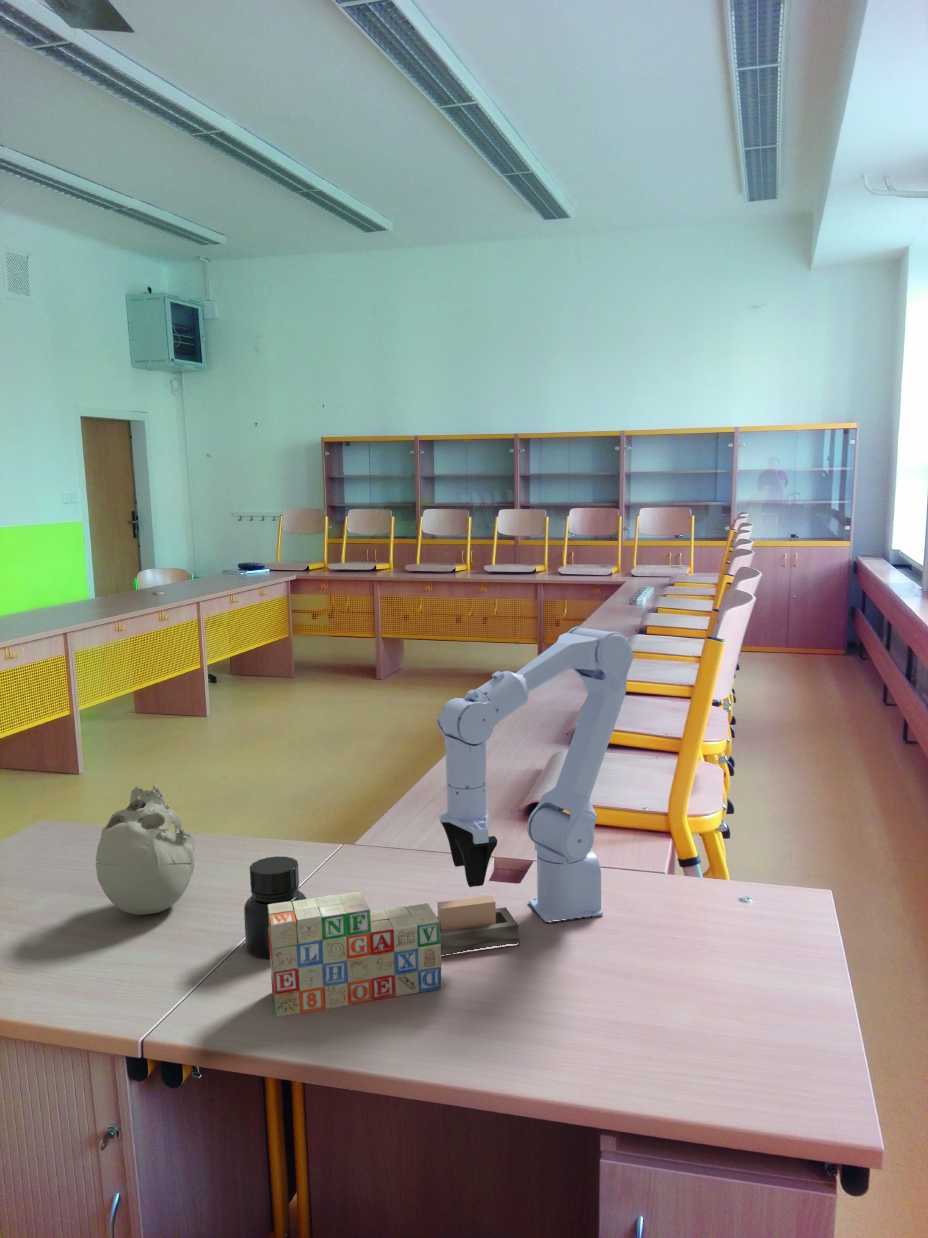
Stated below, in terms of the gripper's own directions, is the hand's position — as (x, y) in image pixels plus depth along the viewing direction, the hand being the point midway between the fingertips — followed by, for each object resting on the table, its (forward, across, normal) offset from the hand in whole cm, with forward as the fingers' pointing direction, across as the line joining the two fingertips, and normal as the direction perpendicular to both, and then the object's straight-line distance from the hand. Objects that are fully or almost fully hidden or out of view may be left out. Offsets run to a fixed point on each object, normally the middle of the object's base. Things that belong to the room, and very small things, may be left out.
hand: (468, 875), depth 130 cm
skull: (+10, -24, -46) cm, 52 cm away
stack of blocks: (+10, +10, -18) cm, 23 cm away
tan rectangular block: (+8, +1, -1) cm, 9 cm away
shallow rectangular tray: (+10, +1, 0) cm, 10 cm away
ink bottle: (+10, -6, -27) cm, 29 cm away
